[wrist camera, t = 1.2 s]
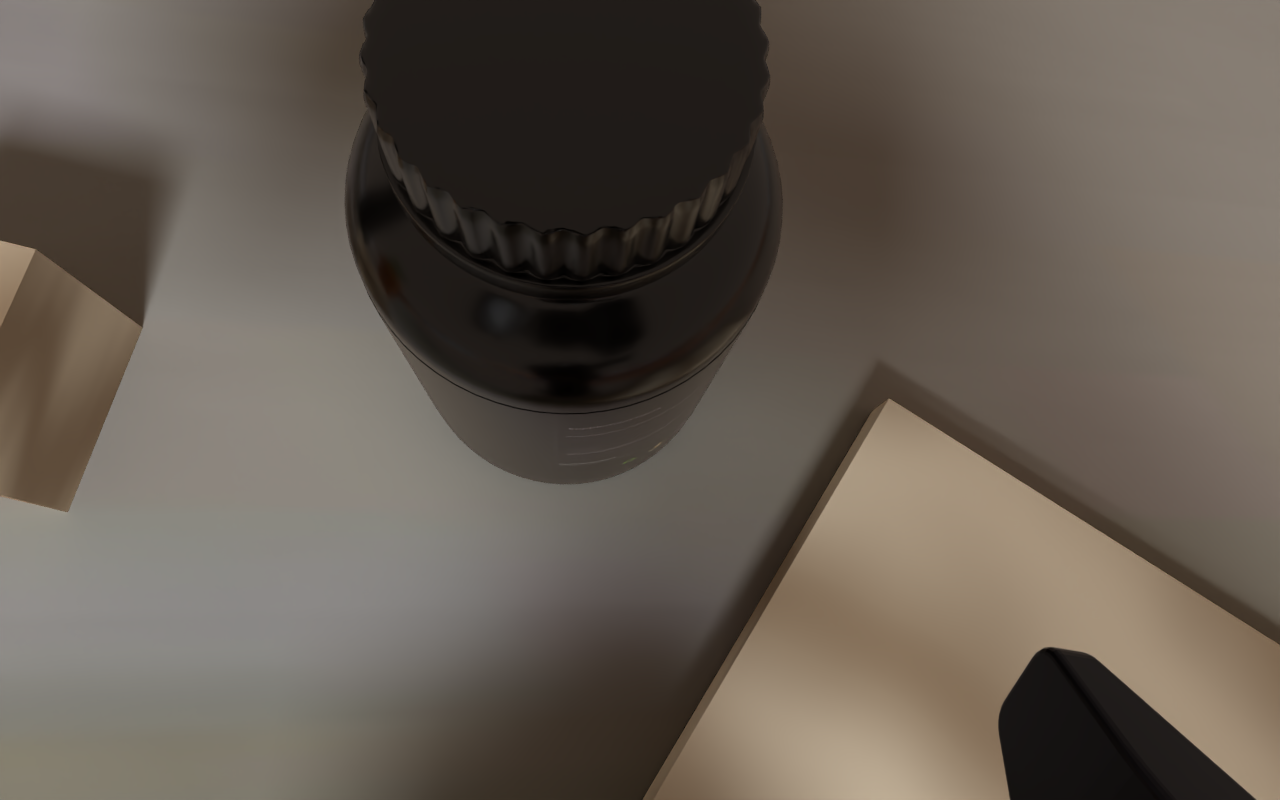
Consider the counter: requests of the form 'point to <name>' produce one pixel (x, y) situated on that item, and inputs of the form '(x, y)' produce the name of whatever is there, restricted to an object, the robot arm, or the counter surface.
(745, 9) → the supplement bottle
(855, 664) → the maple board
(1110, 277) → the counter surface
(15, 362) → the oak block
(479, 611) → the counter surface
